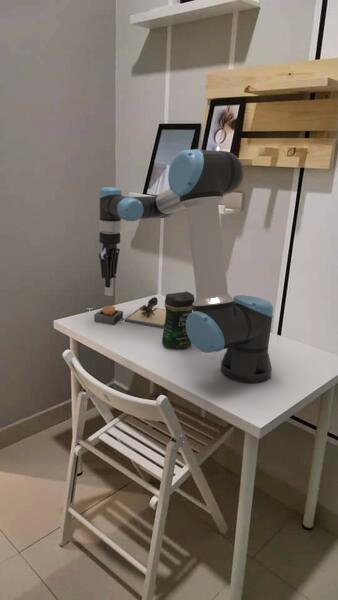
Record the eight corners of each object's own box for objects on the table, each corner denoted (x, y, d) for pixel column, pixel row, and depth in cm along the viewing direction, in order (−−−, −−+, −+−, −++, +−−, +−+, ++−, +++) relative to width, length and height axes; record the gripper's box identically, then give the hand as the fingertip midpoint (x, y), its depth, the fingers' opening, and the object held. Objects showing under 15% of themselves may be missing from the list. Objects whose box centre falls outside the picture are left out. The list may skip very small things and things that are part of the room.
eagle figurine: (162, 315, 180) (161, 304, 188) (153, 301, 177) (152, 290, 185) (145, 324, 182) (145, 313, 190) (135, 310, 179) (136, 299, 186)
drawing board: (164, 328, 174) (164, 325, 173) (124, 321, 178) (124, 319, 178) (179, 314, 190) (179, 311, 190) (142, 308, 195) (142, 305, 194)
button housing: (113, 325, 174) (114, 317, 173) (94, 321, 177) (94, 314, 176) (122, 318, 181) (122, 311, 181) (103, 315, 184) (103, 308, 183)
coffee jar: (171, 352, 153) (174, 298, 148) (158, 343, 160) (161, 291, 154) (195, 347, 159) (199, 294, 153) (182, 339, 165) (185, 288, 159)
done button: (111, 316, 176) (111, 310, 175) (100, 314, 177) (100, 308, 176) (116, 313, 180) (117, 306, 179) (105, 311, 181) (106, 305, 180)
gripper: (108, 228, 176) (107, 289, 183) (92, 233, 164) (91, 298, 171) (126, 230, 174) (125, 291, 181) (111, 235, 162) (110, 301, 169)
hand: (108, 294), depth 176 cm, fingers closed
